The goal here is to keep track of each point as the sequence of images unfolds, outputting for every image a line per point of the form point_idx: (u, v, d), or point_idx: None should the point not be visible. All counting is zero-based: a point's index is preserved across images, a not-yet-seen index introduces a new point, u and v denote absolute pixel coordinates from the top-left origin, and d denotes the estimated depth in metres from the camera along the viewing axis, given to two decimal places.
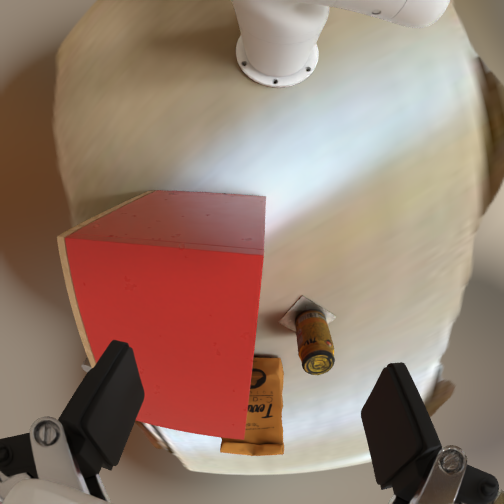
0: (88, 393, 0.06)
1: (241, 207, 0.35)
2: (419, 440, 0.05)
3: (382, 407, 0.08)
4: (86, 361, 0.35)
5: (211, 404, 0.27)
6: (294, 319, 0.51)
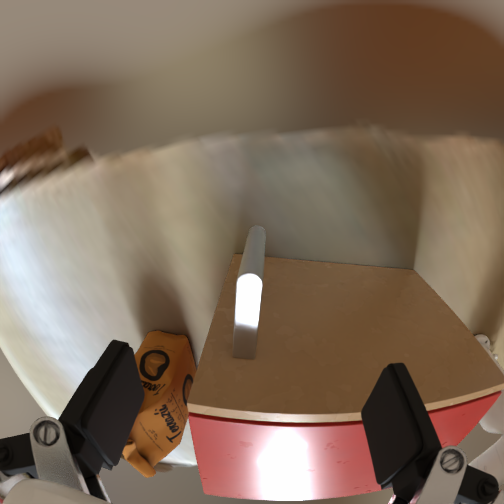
0: (88, 393, 0.06)
1: None
2: (419, 440, 0.05)
3: (382, 407, 0.08)
4: None
5: (280, 491, 0.20)
6: None
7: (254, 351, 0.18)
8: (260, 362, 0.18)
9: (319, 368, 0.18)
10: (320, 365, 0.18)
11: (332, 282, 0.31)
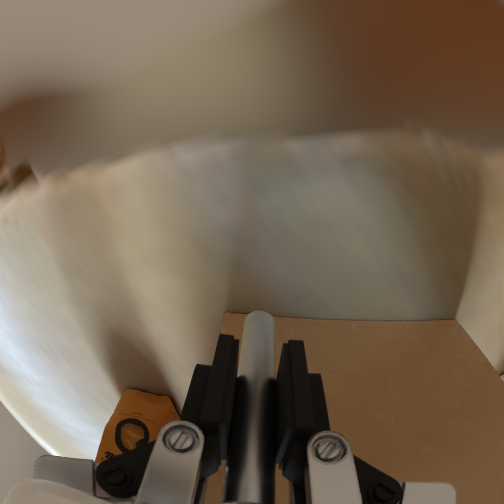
0: (219, 388, 0.07)
1: None
2: (292, 416, 0.06)
3: (279, 383, 0.09)
4: (275, 487, 0.06)
5: None
6: None
7: None
8: None
9: None
10: None
11: (365, 361, 0.20)
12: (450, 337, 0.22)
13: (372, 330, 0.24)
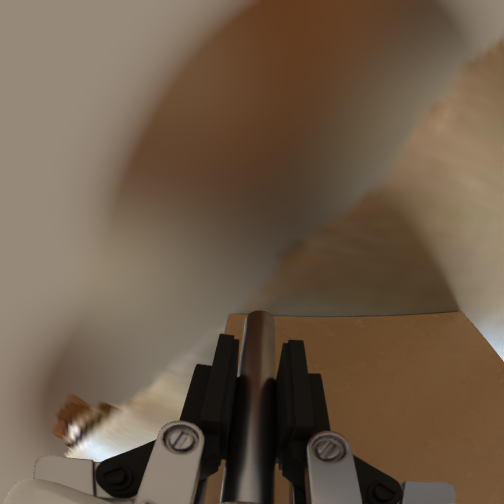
0: (219, 388, 0.07)
1: None
2: (292, 416, 0.06)
3: (279, 383, 0.09)
4: (274, 486, 0.06)
5: None
6: None
7: None
8: None
9: None
10: None
11: (370, 357, 0.20)
12: (456, 329, 0.22)
13: (377, 326, 0.24)
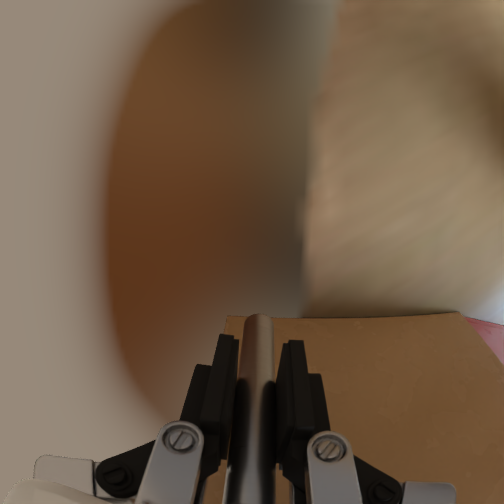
0: (219, 388, 0.07)
1: None
2: (292, 417, 0.06)
3: (279, 383, 0.09)
4: (275, 488, 0.06)
5: None
6: None
7: None
8: None
9: None
10: None
11: (368, 358, 0.20)
12: (454, 330, 0.22)
13: (375, 327, 0.24)
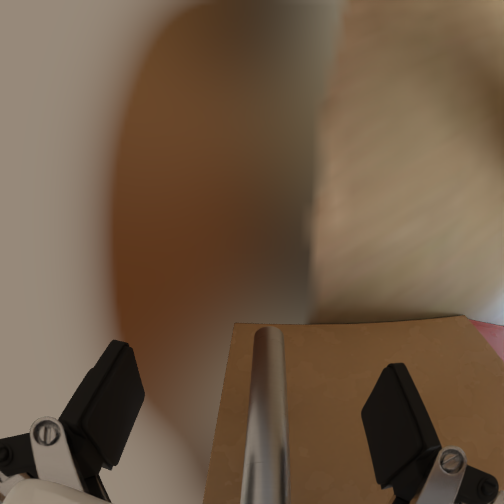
0: (88, 393, 0.06)
1: None
2: (419, 440, 0.05)
3: (382, 407, 0.08)
4: None
5: None
6: None
7: None
8: None
9: None
10: None
11: (375, 364, 0.20)
12: (460, 334, 0.21)
13: (382, 332, 0.23)
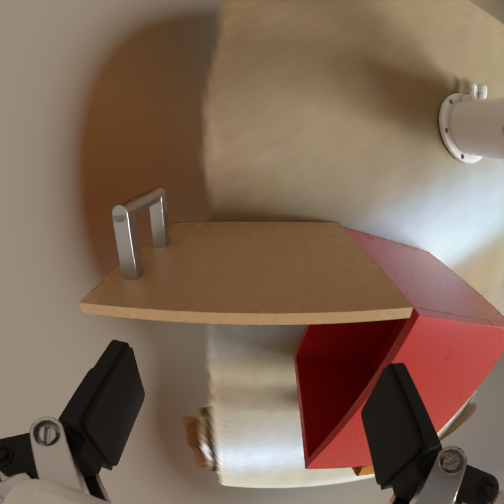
0: (88, 393, 0.06)
1: (445, 270, 0.33)
2: (419, 440, 0.05)
3: (382, 407, 0.08)
4: (131, 211, 0.22)
5: None
6: None
7: (135, 271, 0.23)
8: (140, 280, 0.23)
9: (184, 283, 0.23)
10: (186, 282, 0.23)
11: (240, 233, 0.36)
12: (323, 228, 0.38)
13: (256, 224, 0.40)
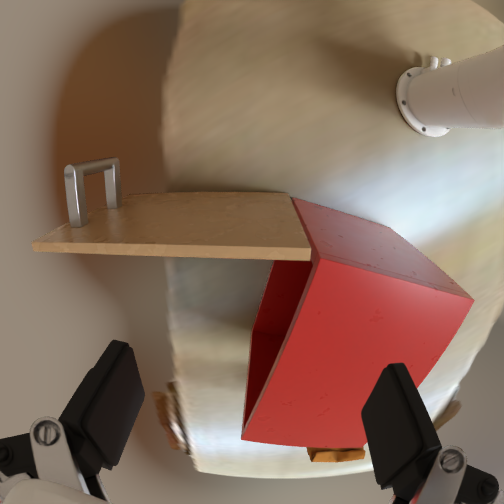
0: (88, 393, 0.06)
1: (399, 241, 0.35)
2: (419, 440, 0.05)
3: (382, 407, 0.08)
4: (79, 170, 0.24)
5: None
6: None
7: (79, 219, 0.25)
8: (82, 227, 0.25)
9: (112, 228, 0.24)
10: (114, 227, 0.25)
11: (185, 198, 0.37)
12: (267, 196, 0.39)
13: (206, 193, 0.41)
